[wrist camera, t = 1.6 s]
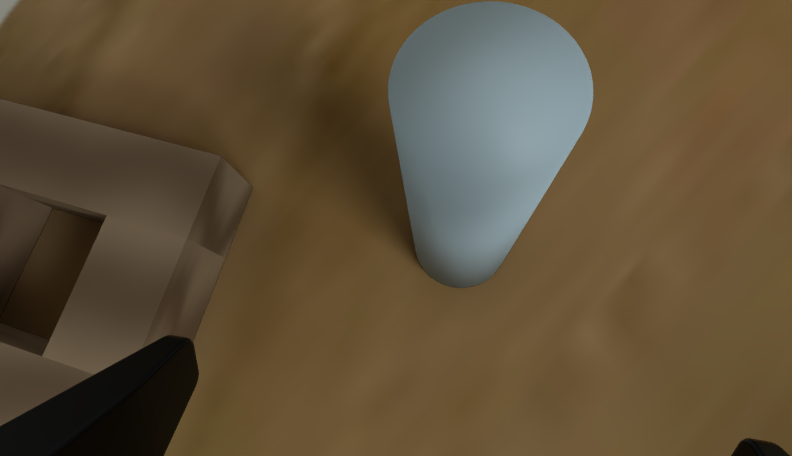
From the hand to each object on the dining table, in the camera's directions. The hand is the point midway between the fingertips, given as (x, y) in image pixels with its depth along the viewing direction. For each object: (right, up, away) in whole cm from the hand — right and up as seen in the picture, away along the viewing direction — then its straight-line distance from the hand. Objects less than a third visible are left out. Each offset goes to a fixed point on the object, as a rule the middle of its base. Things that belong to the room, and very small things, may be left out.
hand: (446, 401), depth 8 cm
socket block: (-17, 0, +17) cm, 24 cm away
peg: (+2, +2, +16) cm, 16 cm away
